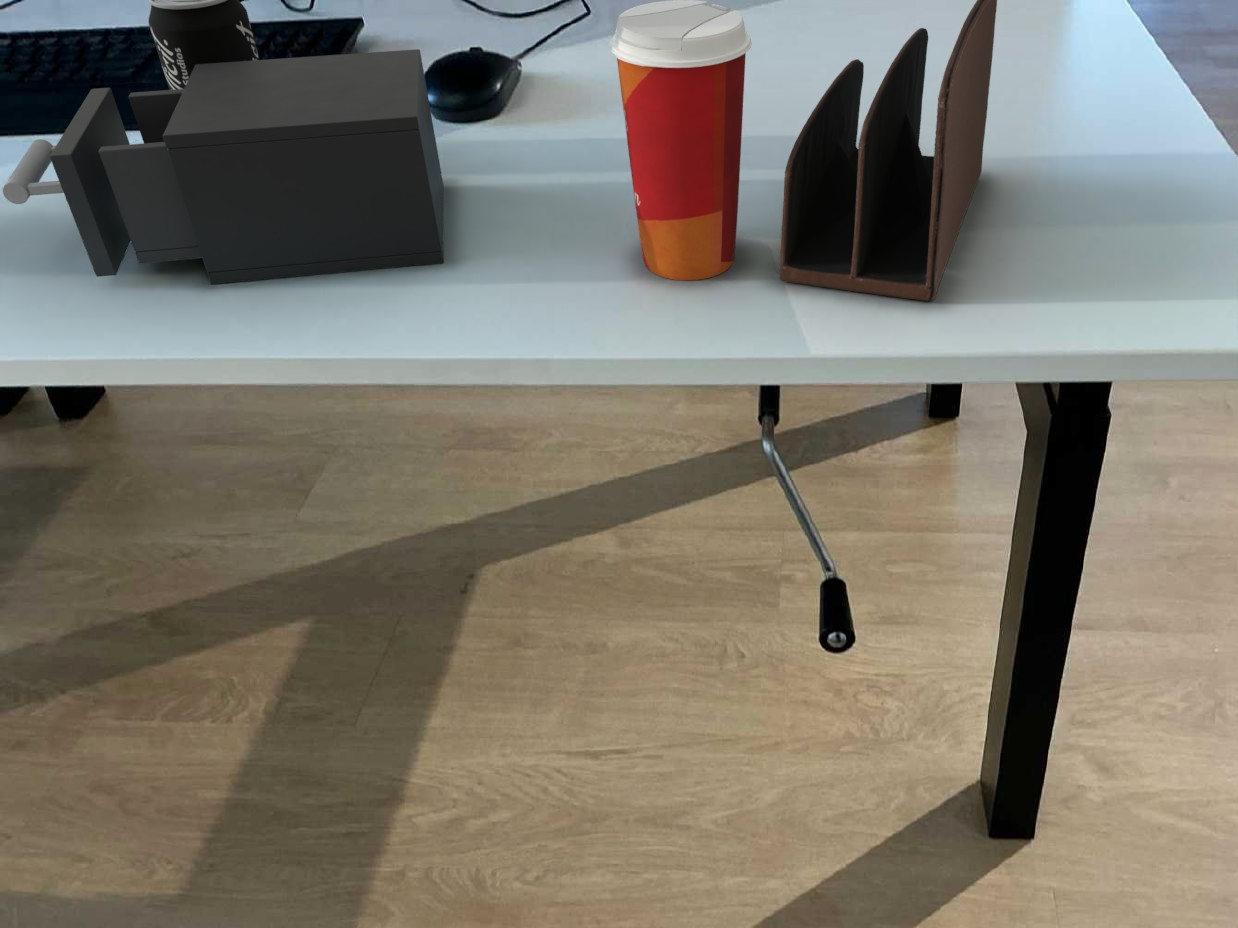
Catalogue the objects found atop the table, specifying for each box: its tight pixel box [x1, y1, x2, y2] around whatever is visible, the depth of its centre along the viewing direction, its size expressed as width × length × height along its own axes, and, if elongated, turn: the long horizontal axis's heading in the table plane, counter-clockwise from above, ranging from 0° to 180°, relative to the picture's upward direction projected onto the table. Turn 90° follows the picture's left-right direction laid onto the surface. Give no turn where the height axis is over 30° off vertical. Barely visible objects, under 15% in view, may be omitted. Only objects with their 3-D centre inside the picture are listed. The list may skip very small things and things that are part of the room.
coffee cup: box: [609, 0, 753, 281], centre depth 73 cm, size 8×8×15 cm
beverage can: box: [148, 0, 260, 90], centre depth 87 cm, size 7×7×12 cm
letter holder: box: [778, 0, 998, 302], centre depth 77 cm, size 10×20×14 cm, turn 163°
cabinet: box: [163, 48, 445, 285], centre depth 79 cm, size 15×13×10 cm
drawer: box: [1, 87, 202, 278], centre depth 78 cm, size 18×11×8 cm, turn 101°
